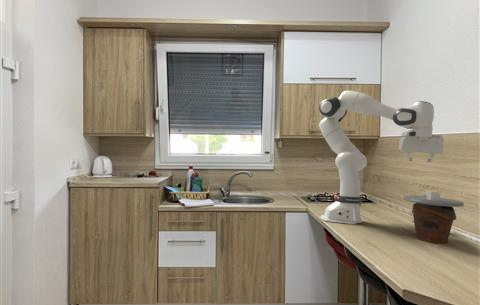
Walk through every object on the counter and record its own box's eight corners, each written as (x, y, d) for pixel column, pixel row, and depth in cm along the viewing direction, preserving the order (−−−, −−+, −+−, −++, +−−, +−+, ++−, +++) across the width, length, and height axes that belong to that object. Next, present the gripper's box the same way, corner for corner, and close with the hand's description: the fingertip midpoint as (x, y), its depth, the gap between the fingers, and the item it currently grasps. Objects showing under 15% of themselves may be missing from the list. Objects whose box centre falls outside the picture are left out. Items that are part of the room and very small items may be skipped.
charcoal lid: (418, 204, 143) (418, 193, 143) (396, 196, 167) (396, 186, 167) (476, 208, 142) (477, 196, 142) (445, 199, 166) (446, 189, 165)
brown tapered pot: (446, 236, 162) (447, 199, 162) (461, 247, 143) (463, 206, 142) (406, 232, 167) (407, 197, 167) (416, 243, 148) (417, 203, 147)
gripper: (440, 135, 168) (437, 162, 168) (398, 132, 169) (396, 159, 170) (447, 135, 161) (444, 163, 162) (403, 132, 163) (401, 160, 164)
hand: (419, 161), depth 166 cm, fingers open, 8 cm apart
